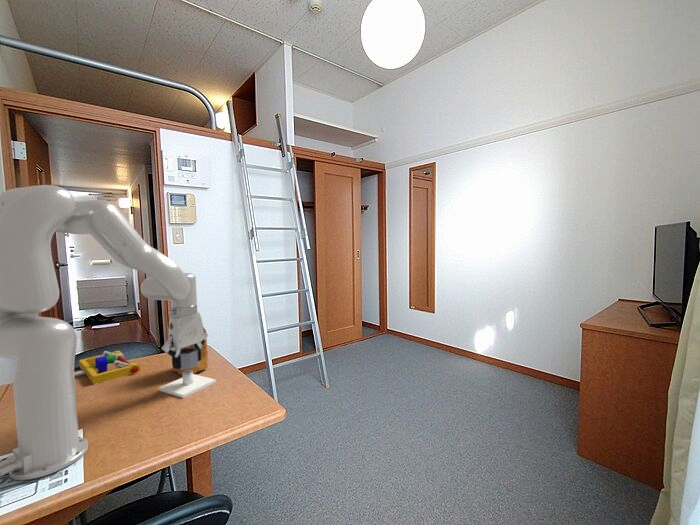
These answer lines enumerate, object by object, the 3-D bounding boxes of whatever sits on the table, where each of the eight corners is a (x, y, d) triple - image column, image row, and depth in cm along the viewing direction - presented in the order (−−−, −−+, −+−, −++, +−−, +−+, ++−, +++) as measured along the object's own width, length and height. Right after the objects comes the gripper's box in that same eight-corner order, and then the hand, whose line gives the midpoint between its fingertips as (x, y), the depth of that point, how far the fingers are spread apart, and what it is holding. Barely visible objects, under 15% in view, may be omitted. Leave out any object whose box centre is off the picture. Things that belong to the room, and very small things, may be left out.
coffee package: (194, 362, 126) (191, 308, 124) (211, 369, 119) (209, 311, 117) (168, 371, 118) (165, 313, 116) (185, 378, 111) (182, 317, 109)
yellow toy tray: (118, 342, 136) (140, 357, 116) (119, 356, 136) (141, 374, 117) (61, 353, 122) (75, 373, 102) (62, 369, 122) (77, 392, 103)
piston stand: (183, 398, 96) (182, 382, 96) (159, 390, 102) (158, 375, 101) (215, 382, 107) (215, 368, 107) (192, 376, 112) (191, 362, 112)
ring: (184, 371, 100) (184, 355, 99) (171, 367, 103) (170, 352, 102) (202, 363, 106) (202, 349, 105) (189, 360, 109) (188, 346, 108)
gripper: (166, 317, 94) (169, 376, 95) (214, 306, 109) (216, 356, 110) (150, 315, 97) (154, 372, 98) (199, 305, 112) (202, 353, 114)
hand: (187, 363), depth 104 cm, fingers closed on ring, 6 cm apart
